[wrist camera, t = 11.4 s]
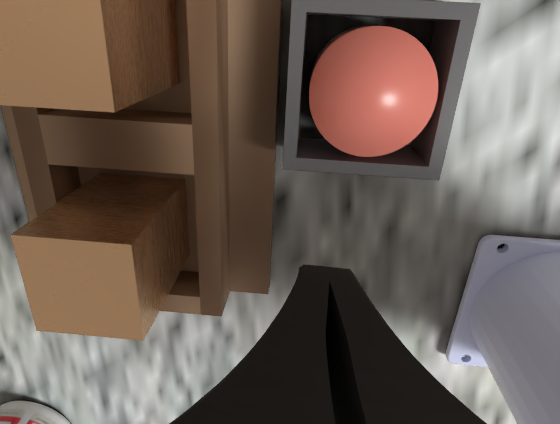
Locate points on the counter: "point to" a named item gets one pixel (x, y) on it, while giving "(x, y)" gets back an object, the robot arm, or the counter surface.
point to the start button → (372, 90)
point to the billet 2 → (105, 255)
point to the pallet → (183, 147)
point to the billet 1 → (86, 52)
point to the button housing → (450, 70)
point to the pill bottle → (29, 414)
